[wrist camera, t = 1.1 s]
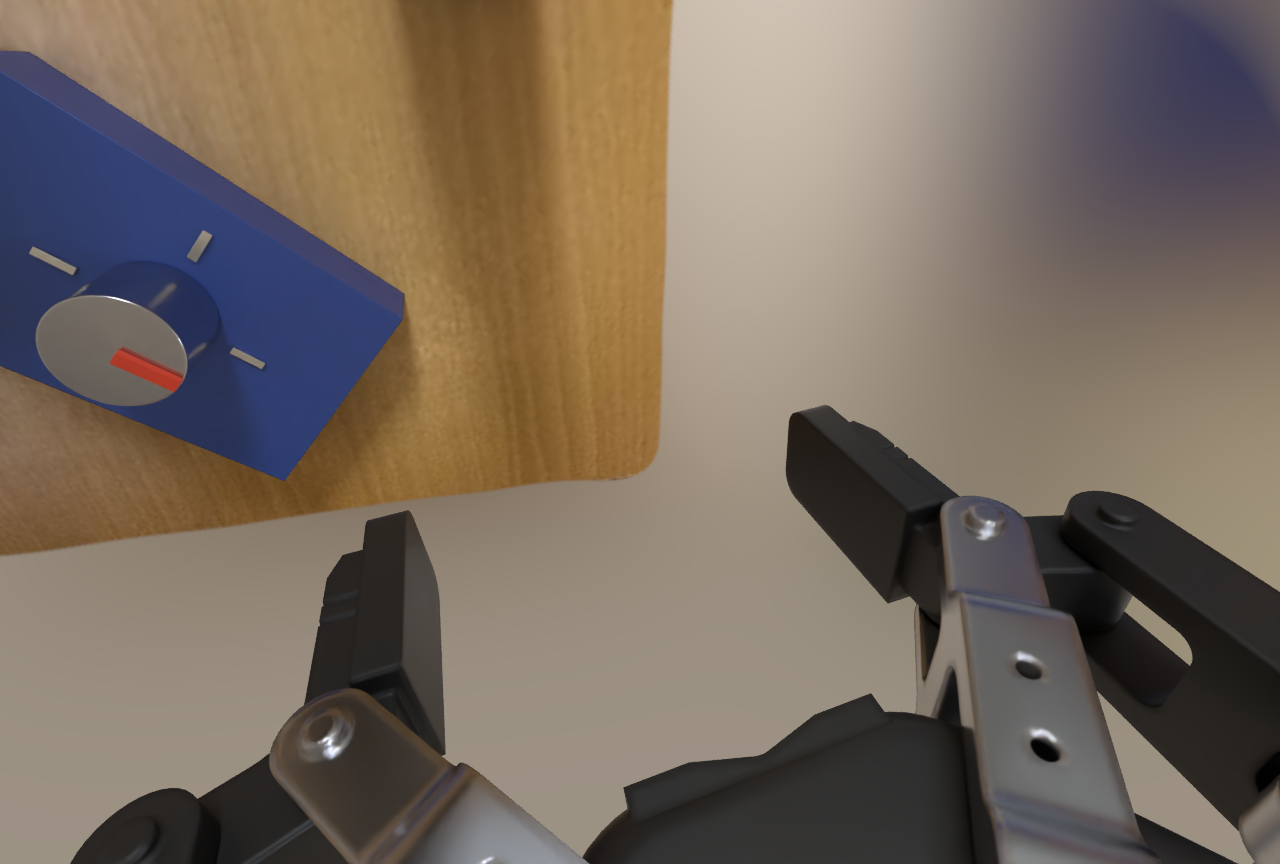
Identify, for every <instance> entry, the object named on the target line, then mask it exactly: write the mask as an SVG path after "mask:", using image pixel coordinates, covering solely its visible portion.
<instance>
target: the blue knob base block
mask: <svg viewBox="0 0 1280 864" xmlns="http://www.w3.org/2000/svg"><path fill="white" fill-rule="evenodd" d="M129 262H152V263H158V264H162V265H165V266H169V267H171V268H174V269H176V270H178V271H180V272H182V273H184V274H186V275H188V276H189V277H191V278H192V279H194V280H195V281H196V282H197V283H199V284H200V285H201V286H202V287H203V288H204V289H205V290H206V291H207V293H208V294H209V295H210V297H211V298H212V300H213V301H214V303H215V305H216V308H217V310H218V313H219V318H220V327H219V333H218V336H217V338H216V340H215V342H214V343H213V344H212V346H211V347H210V348H209V350H208V351H207V352H206V353H205V355H204V356H203V357H202V359H201V360H200V361H199V363H198V364H197V365H196V367H195V368H194V369H193V370H192V372H191V373H190V374H189V376H188V377H187V378H186V380H185V381H184V382H183V384H182V385H181V386H180V387H179V389H178V390H177V391H175V392H174V393H173V394H172V395H170V396H169V397H167V398H165V399H163V400H161V401H158V402H155V403H152V404H147V405H142V406H117V405H111V404H106V403H102V402H98V401H95V400H92V399H90V398H87V397H85V396H83V395H80V394H78V393H77V392H75V391H73V390H71V389H70V388H68V387H67V386H65V385H64V384H63V383H61V382H60V381H59V380H58V379H57V378H56V377H55V376H54V375H53V374H52V373H51V372H50V371H49V370H48V369H47V367H46V366H45V364H44V363H43V361H42V359H41V357H40V355H39V353H38V350H37V346H36V329H37V325H38V323H39V320H40V318H41V317H42V316H43V314H44V313H45V312H46V311H47V310H48V309H49V308H50V307H51V306H53V305H54V304H56V303H57V302H59V301H61V300H62V299H64V298H65V297H67V296H68V295H70V294H72V293H73V292H75V291H76V290H78V289H79V288H81V287H83V286H84V285H86V284H87V283H89V282H90V281H92V280H94V279H95V278H97V277H98V276H100V275H101V274H103V273H104V272H106V271H108V270H109V269H111V268H113V267H115V266H117V265H121V264H124V263H129ZM403 306H404V293H402V292H401V291H399V290H398V289H396V288H395V287H393V286H392V285H390V284H389V283H387V282H385V281H384V280H382V279H381V278H379V277H378V276H376V275H375V274H373V273H371V272H370V271H368V270H367V269H365V268H364V267H362V266H361V265H359V264H357V263H356V262H354V261H353V260H351V259H350V258H348V257H347V256H345V255H344V254H342V253H340V252H339V251H337V250H336V249H334V248H333V247H331V246H330V245H328V244H326V243H325V242H323V241H322V240H320V239H319V238H317V237H316V236H314V235H312V234H311V233H309V232H308V231H306V230H305V229H303V228H302V227H300V226H299V225H297V224H295V223H294V222H292V221H291V220H289V219H288V218H286V217H285V216H283V215H281V214H280V213H278V212H277V211H275V210H274V209H272V208H271V207H269V206H268V205H266V204H264V203H263V202H261V201H260V200H258V199H257V198H255V197H254V196H252V195H250V194H249V193H247V192H246V191H244V190H243V189H241V188H240V187H238V186H236V185H235V184H233V183H232V182H230V181H229V180H227V179H226V178H224V177H223V176H221V175H219V174H218V173H216V172H215V171H213V170H212V169H210V168H209V167H207V166H205V165H204V164H202V163H201V162H199V161H198V160H196V159H195V158H193V157H191V156H190V155H188V154H187V153H185V152H184V151H182V150H181V149H179V148H178V147H176V146H174V145H173V144H171V143H170V142H168V141H167V140H165V139H164V138H162V137H160V136H159V135H157V134H156V133H154V132H153V131H151V130H150V129H148V128H146V127H145V126H143V125H142V124H140V123H139V122H137V121H136V120H134V119H133V118H131V117H129V116H128V115H126V114H125V113H123V112H122V111H120V110H119V109H117V108H115V107H114V106H112V105H111V104H109V103H108V102H106V101H105V100H103V99H102V98H100V97H98V96H97V95H95V94H94V93H92V92H91V91H89V90H88V89H86V88H84V87H83V86H81V85H80V84H78V83H77V82H75V81H74V80H72V79H70V78H69V77H67V76H66V75H64V74H63V73H61V72H60V71H58V70H57V69H55V68H53V67H52V66H50V65H49V64H47V63H46V62H44V61H43V60H41V59H39V58H38V57H36V56H35V55H33V54H32V53H30V52H19V51H0V366H2V367H4V368H7V369H9V370H12V371H14V372H17V373H19V374H22V375H24V376H26V377H29V378H31V379H34V380H36V381H39V382H41V383H44V384H46V385H49V386H51V387H54V388H56V389H59V390H61V391H63V392H66V393H68V394H71V395H73V396H76V397H78V398H81V399H83V400H86V401H88V402H91V403H93V404H96V405H98V406H100V407H103V408H105V409H108V410H110V411H113V412H115V413H118V414H120V415H123V416H125V417H128V418H130V419H133V420H135V421H137V422H140V423H142V424H145V425H147V426H150V427H152V428H155V429H157V430H160V431H162V432H165V433H167V434H169V435H172V436H174V437H177V438H179V439H182V440H184V441H187V442H189V443H192V444H194V445H197V446H199V447H202V448H204V449H206V450H209V451H211V452H214V453H216V454H219V455H221V456H224V457H226V458H229V459H231V460H234V461H236V462H239V463H241V464H243V465H246V466H248V467H251V468H253V469H256V470H258V471H261V472H263V473H266V474H268V475H271V476H273V477H276V478H278V479H280V480H283V481H285V480H286V478H287V477H288V476H289V474H290V473H291V472H292V470H293V469H294V467H295V466H296V465H297V463H298V462H299V461H300V459H301V458H302V456H303V455H304V454H305V452H306V451H307V450H308V448H309V447H310V446H311V444H312V443H313V441H314V440H315V439H316V437H317V436H318V435H319V433H320V432H321V430H322V429H323V428H324V426H325V425H326V424H327V422H328V421H329V420H330V418H331V417H332V415H333V414H334V413H335V411H336V410H337V409H338V407H339V406H340V404H341V403H342V402H343V400H344V399H345V398H346V396H347V395H348V394H349V392H350V391H351V389H352V388H353V387H354V385H355V384H356V383H357V381H358V380H359V378H360V377H361V376H362V374H363V373H364V372H365V370H366V369H367V367H368V366H369V365H370V363H371V362H372V361H373V359H374V358H375V357H376V355H377V354H378V352H379V351H380V350H381V348H382V347H383V346H384V344H385V343H386V341H387V340H388V339H389V337H390V336H391V335H392V333H393V332H394V331H395V329H396V328H397V326H398V325H399V324H400V322H401V321H402V319H403Z"/></svg>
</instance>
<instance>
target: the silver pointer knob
mask: <svg viewBox="0 0 1280 864" xmlns="http://www.w3.org/2000/svg"><path fill="white" fill-rule="evenodd" d="M219 327H220V318H219V313H218V310H217V308H216V305H215V303H214V301H213V300H212V298H211V297H210V295H209V294H208V293H207V291H206V290H205V289H204V288H203V287H202V286H201V285H200V284H199V283H197V282H196V281H195V280H194V279H192V278H191V277H189V276H188V275H186V274H184V273H182V272H180V271H178V270H176V269H174V268H171V267H169V266H165V265H162V264H158V263H152V262H129V263H124V264H121V265H117V266H115V267H113V268H111V269H109V270H108V271H106V272H104V273H103V274H101V275H100V276H98V277H97V278H95V279H94V280H92V281H90V282H89V283H87V284H86V285H84V286H83V287H81V288H79V289H78V290H76V291H75V292H73V293H72V294H70V295H68V296H67V297H65V298H64V299H62V300H61V301H59V302H57V303H56V304H54V305H53V306H51V307H50V308H49V309H48V310H47V311H46V312H45V313H44V314H43V316H42V317H41V318H40V320H39V323H38V325H37V329H36V346H37V350H38V353H39V355H40V357H41V359H42V361H43V363H44V364H45V366H46V367H47V369H48V370H49V371H50V372H51V373H52V374H53V375H54V376H55V377H56V378H57V379H58V380H59V381H60V382H61V383H63V384H64V385H65V386H67V387H68V388H70V389H71V390H73V391H75V392H77V393H78V394H80V395H83V396H85V397H87V398H90V399H92V400H95V401H98V402H102V403H106V404H111V405H117V406H142V405H147V404H152V403H155V402H158V401H161V400H163V399H165V398H167V397H169V396H170V395H172V394H173V393H174V392H175V391H177V390H178V389H179V387H180V386H181V385H182V384H183V382H184V381H185V380H186V378H187V377H188V376H189V374H190V373H191V372H192V370H193V369H194V368H195V367H196V365H197V364H198V363H199V361H200V360H201V359H202V357H203V356H204V355H205V353H206V352H207V351H208V350H209V348H210V347H211V346H212V344H213V343H214V342H215V340H216V338H217V336H218V333H219Z"/></svg>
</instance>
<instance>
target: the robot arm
mask: <svg viewBox="0 0 1280 864" xmlns="http://www.w3.org/2000/svg"><path fill="white" fill-rule="evenodd" d="M786 477H787V482H788V485H789V487H790V490H791V491H792V493H793V495H794V496H795V498H796V499H797V500H798V501H799V502H800V504H802V505H803V507H804V508H805V509H806V510H807V511H808V513H809V514H810V515H811V516H812V517H813V518H814V520H815V521H816V522H817V523H818V524H819V525H820V526H821V528H822V529H823V530H824V531H825V532H826V533H827V534H828V536H829V537H830V538H831V539H832V540H833V541H834V542H835V544H836V545H837V546H838V547H839V548H840V549H841V550H842V552H843V553H844V554H845V555H846V556H847V557H848V558H849V560H850V561H851V562H852V563H853V564H854V565H855V566H856V568H857V569H858V570H859V571H860V572H861V573H862V574H863V576H864V577H865V578H866V579H867V580H868V581H869V582H870V584H871V585H872V586H873V587H874V588H875V589H876V590H877V592H878V593H879V594H880V595H881V596H882V597H883V598H884V599H885V601H886V602H887V603H891V602H894V601H897V600H900V599H903V598H906V597H909V596H910V597H911V598H912V599H913V600H914V601H915V602H916V603H917V604H916V607H915V612H914V630H915V658H916V683H917V701H916V711H915V714H913V713H905V712H884V711H883V709H882V708H881V706H880V705H879V704H878V703H877V701H876V699H875V698H874V697H873V695H872V694H868V695H865V696H863V697H860V698H857V699H855V700H852V701H849V702H847V703H844V704H842V705H839V706H836V707H834V708H831V709H828V710H826V711H823V712H821V713H818V714H815V715H814V716H812V717H811V718H810V719H809V720H807V721H806V722H805V723H803V724H802V725H801V726H800V727H798V728H797V729H796V730H794V731H793V732H792V733H791V734H789V735H788V736H787V737H786V738H784V739H783V740H782V741H780V742H779V743H778V744H777V745H776V746H774V747H773V748H771V749H770V750H769V751H767V752H766V753H764V754H762V755H759V756H754V757H743V758H733V759H722V760H712V761H701V762H690V763H687V764H684V765H681V766H679V767H676V768H673V769H671V770H668V771H666V772H663V773H660V774H658V775H655V776H652V777H650V778H647V779H645V780H642V781H639V782H637V783H634V784H631V785H629V786H626V787H624V793H625V798H626V803H627V808H628V809H627V810H625V811H624V812H623V813H621V814H620V815H619V816H618V817H616V818H615V819H614V820H613V821H612V822H611V823H610V824H609V825H608V826H607V827H606V828H605V829H604V830H603V831H602V832H601V833H600V834H599V835H598V836H597V838H596V839H595V840H594V841H593V843H592V844H591V845H590V846H589V848H588V849H587V851H586V852H585V854H584V855H583V857H581V856H579V855H578V854H577V853H576V852H575V851H573V850H572V849H571V848H570V847H569V846H567V845H566V844H565V843H564V842H562V841H561V840H560V839H559V838H557V837H556V836H555V835H554V834H553V833H552V832H550V831H549V830H548V829H547V828H546V827H544V826H543V825H542V824H541V823H539V822H538V821H537V820H536V819H535V818H533V817H532V816H531V815H530V814H529V813H527V812H526V811H525V810H524V809H522V808H521V807H520V806H519V805H518V804H516V803H515V802H514V801H513V800H512V799H510V798H509V797H508V796H507V795H505V794H504V793H503V792H502V791H501V790H499V789H498V788H497V787H496V786H494V785H493V784H492V783H491V782H490V781H489V780H487V779H486V778H485V777H484V776H483V775H481V774H480V773H479V772H477V771H476V770H475V769H473V768H472V767H470V766H469V765H467V764H464V763H459V764H458V765H457V766H454V765H453V764H451V763H450V762H448V761H447V760H446V759H445V758H443V757H442V755H445V728H444V704H443V703H444V702H443V679H442V678H443V677H442V651H441V628H440V602H439V601H440V600H439V592H438V585H437V580H436V576H435V573H434V569H433V567H432V564H431V561H430V559H429V556H428V554H427V552H426V549H425V546H424V544H423V541H422V539H421V536H420V534H419V531H418V528H417V526H416V523H415V521H414V518H413V516H412V514H411V513H410V511H408V510H407V511H403V512H399V513H395V514H392V515H388V516H384V517H380V518H376V519H372V520H368V521H367V522H366V526H365V534H364V543H363V550H360V551H357V552H353V553H349V554H345V555H342V557H341V559H340V560H339V561H338V563H337V564H336V566H335V567H334V569H333V570H332V572H331V573H330V575H329V577H328V578H327V581H326V587H325V592H324V598H323V605H324V606H323V607H322V609H321V615H320V620H319V622H320V626H319V627H318V632H317V637H316V643H315V648H314V654H313V660H312V665H311V670H310V676H309V682H308V687H307V693H306V698H305V703H304V706H303V707H301V708H300V709H298V710H297V711H296V712H295V713H294V714H293V715H292V716H291V717H290V718H289V719H288V721H287V722H286V723H285V724H284V725H283V727H282V728H281V730H280V731H279V732H278V734H277V736H276V739H275V740H274V742H273V745H272V748H271V751H270V754H268V755H267V756H265V757H264V758H263V759H262V760H260V761H259V762H257V763H256V764H254V765H253V766H251V767H250V768H248V769H246V770H245V771H243V772H242V773H240V774H238V775H236V776H235V777H233V778H231V779H230V780H228V781H226V782H225V783H223V784H222V785H220V786H218V787H217V788H215V789H213V790H212V791H210V792H208V793H207V794H205V795H203V796H202V797H200V798H198V799H197V798H196V797H195V796H194V795H193V794H191V793H190V792H188V791H186V790H183V789H180V788H168V789H161V790H158V791H155V792H152V793H149V794H146V795H144V796H142V797H140V798H138V799H136V800H134V801H132V802H131V803H129V804H127V805H126V806H125V807H123V808H121V809H120V810H119V811H117V812H116V813H114V814H113V815H112V816H111V817H110V818H108V819H107V820H106V821H105V822H104V823H103V824H102V825H101V826H100V827H98V828H97V829H96V830H95V831H94V833H93V834H92V835H91V836H90V837H89V838H88V839H87V840H86V841H85V843H84V844H83V845H82V847H81V848H80V849H79V851H78V852H77V854H76V855H75V857H74V859H73V860H72V862H71V864H1237V863H1235V862H1233V861H1231V860H1229V859H1227V858H1225V857H1223V856H1221V855H1219V854H1217V853H1215V852H1213V851H1211V850H1209V849H1207V848H1205V847H1203V846H1201V845H1199V844H1197V843H1195V842H1193V841H1191V840H1189V839H1186V838H1185V837H1182V836H1181V835H1179V834H1176V833H1174V832H1172V831H1170V830H1168V829H1166V828H1164V827H1162V826H1160V825H1158V824H1156V823H1154V822H1152V821H1150V820H1148V819H1146V818H1144V817H1142V816H1140V815H1138V814H1136V813H1134V812H1133V809H1132V805H1131V802H1130V799H1129V796H1128V792H1127V789H1126V786H1125V782H1124V779H1123V776H1122V773H1121V769H1120V766H1119V763H1118V759H1117V756H1116V753H1115V749H1114V746H1113V743H1112V740H1111V736H1110V733H1109V730H1108V726H1107V723H1106V720H1105V717H1104V713H1103V711H1102V707H1101V703H1100V700H1099V697H1098V694H1097V691H1098V692H1099V693H1100V694H1101V695H1102V696H1103V697H1104V698H1105V699H1106V700H1107V701H1108V702H1109V703H1110V704H1111V705H1112V706H1113V707H1114V708H1115V709H1116V710H1117V711H1118V712H1119V713H1120V714H1121V715H1122V716H1123V717H1124V718H1125V719H1126V720H1127V721H1128V722H1129V723H1130V724H1131V725H1132V726H1133V727H1134V728H1135V729H1136V730H1137V731H1138V732H1139V733H1140V734H1141V735H1142V736H1143V737H1144V738H1145V739H1146V740H1147V741H1148V742H1150V744H1152V745H1153V747H1154V748H1155V749H1157V751H1159V753H1160V754H1161V755H1163V756H1164V757H1165V758H1166V759H1167V760H1168V761H1169V762H1170V763H1171V764H1172V765H1173V766H1174V767H1175V768H1176V769H1177V770H1178V771H1179V772H1180V773H1181V774H1182V775H1183V776H1184V777H1185V778H1186V779H1187V780H1188V781H1189V782H1190V783H1191V784H1192V785H1193V786H1194V787H1195V788H1196V789H1197V790H1198V791H1199V792H1200V793H1201V794H1202V795H1203V796H1204V797H1205V798H1206V799H1207V800H1208V801H1209V802H1210V803H1211V804H1212V805H1213V806H1214V807H1215V808H1216V809H1217V810H1218V811H1219V812H1220V813H1221V814H1222V815H1223V816H1224V817H1225V818H1226V819H1227V820H1228V821H1229V822H1230V823H1231V824H1232V825H1233V826H1234V827H1235V828H1236V829H1237V830H1238V831H1239V832H1240V835H1241V838H1242V841H1243V844H1244V845H1245V847H1246V849H1247V851H1248V853H1249V854H1250V856H1251V857H1252V859H1253V860H1254V863H1253V864H1280V592H1279V591H1277V590H1276V589H1274V588H1272V587H1271V586H1270V585H1268V584H1267V583H1265V582H1264V581H1262V580H1260V579H1259V578H1257V577H1255V576H1254V575H1253V574H1251V573H1250V572H1248V571H1247V570H1245V569H1244V568H1242V567H1240V566H1239V565H1237V564H1236V563H1234V562H1233V561H1231V560H1230V559H1228V558H1227V557H1225V556H1223V555H1222V554H1220V553H1219V552H1217V551H1216V550H1214V549H1213V548H1211V547H1210V546H1208V545H1206V544H1205V543H1203V542H1202V541H1200V540H1199V539H1197V538H1196V537H1194V536H1192V535H1191V534H1189V533H1188V532H1186V531H1185V530H1183V529H1182V528H1180V527H1179V526H1177V525H1176V524H1174V523H1173V522H1171V521H1170V520H1168V519H1166V518H1165V517H1163V516H1162V515H1160V514H1159V513H1157V512H1155V511H1154V510H1152V509H1151V508H1149V507H1148V506H1146V505H1144V504H1143V503H1141V502H1139V501H1136V500H1134V499H1132V498H1129V497H1126V496H1123V495H1120V494H1116V493H1111V492H1104V491H1087V492H1081V493H1079V494H1076V495H1075V496H1073V497H1072V498H1071V499H1070V501H1069V504H1068V506H1067V508H1066V511H1065V513H1064V515H1061V516H1033V517H1022V516H1021V515H1020V514H1019V513H1018V512H1017V511H1016V510H1014V509H1013V508H1011V507H1009V506H1008V505H1006V504H1004V503H1001V502H999V501H996V500H993V499H990V498H985V497H980V496H961V497H960V496H958V495H957V494H956V493H955V492H953V491H952V490H951V489H950V488H948V487H947V486H946V485H945V484H943V483H942V482H941V481H939V480H938V479H937V478H936V477H935V476H933V475H932V474H931V473H929V472H928V471H927V470H926V469H924V468H923V467H922V466H921V465H919V464H918V463H917V462H915V461H914V460H913V459H912V458H910V459H909V458H908V455H907V454H906V453H904V452H903V451H902V450H901V449H899V448H898V447H894V444H893V443H892V442H890V441H889V440H888V439H887V438H885V437H884V436H882V434H880V433H879V432H878V431H876V430H874V429H872V428H869V427H867V426H864V425H862V424H860V423H857V422H855V421H852V422H848V421H847V420H846V419H845V418H844V417H842V416H841V415H840V414H838V413H837V412H836V411H835V410H834V409H833V408H831V407H830V406H828V405H823V406H819V407H815V408H812V409H807V410H803V411H800V412H796V413H793V414H792V415H791V417H790V420H789V429H788V444H787V459H786ZM1132 596H1134V597H1136V598H1137V599H1138V600H1139V601H1141V602H1142V603H1143V604H1144V605H1146V606H1147V607H1148V608H1149V609H1151V610H1152V611H1153V612H1155V613H1156V614H1157V615H1158V616H1159V617H1161V618H1162V619H1163V620H1165V621H1166V622H1167V623H1168V624H1170V625H1171V626H1172V627H1173V628H1174V629H1176V630H1177V631H1178V632H1179V633H1180V634H1181V635H1182V636H1183V637H1184V638H1185V640H1186V641H1187V642H1188V644H1189V646H1190V648H1191V651H1192V656H1193V660H1192V663H1191V665H1190V666H1189V665H1188V664H1187V663H1185V662H1184V661H1183V660H1182V659H1181V658H1180V657H1178V656H1177V655H1176V654H1175V653H1174V652H1172V651H1171V650H1170V649H1169V648H1168V647H1166V646H1165V645H1164V644H1163V643H1162V642H1160V641H1159V640H1158V639H1157V638H1156V637H1154V636H1153V635H1152V634H1151V633H1150V632H1148V631H1147V630H1146V629H1145V628H1143V627H1142V626H1141V625H1140V624H1139V623H1138V622H1136V621H1135V620H1134V619H1133V618H1132V617H1130V616H1129V615H1128V614H1127V613H1126V612H1124V611H1125V609H1126V607H1127V605H1128V603H1129V602H1130V600H1131V598H1132Z"/></svg>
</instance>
